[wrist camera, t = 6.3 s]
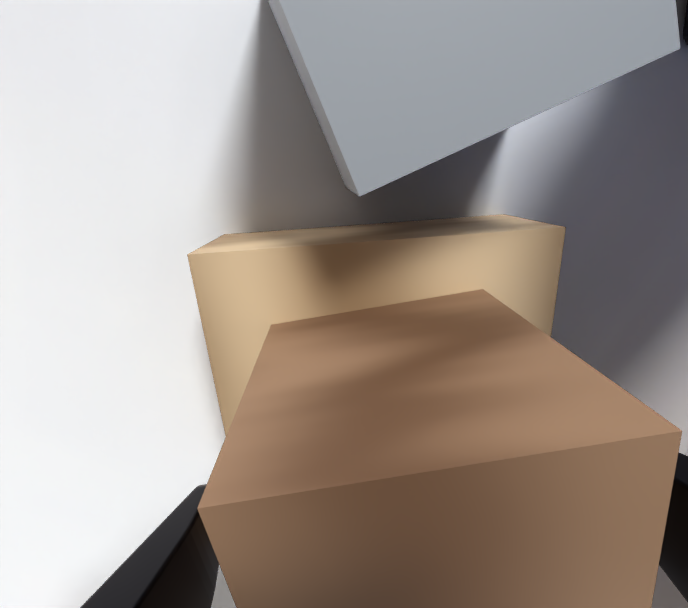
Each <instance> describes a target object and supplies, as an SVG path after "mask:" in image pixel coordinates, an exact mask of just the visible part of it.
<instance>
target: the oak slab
mask: <svg viewBox="0 0 688 608" xmlns="http://www.w3.org/2000/svg"><path fill="white" fill-rule="evenodd" d="M565 230H566V227H562V226H558V225H553V224H548V223H543V222H539V221H534V220H529V219H524V218H519V217H515V216H510V215H505V214H503V215H489V216H475V217H461V218H447V219H433V220H419V221H405V222H391V223H377V224H363V225H349V226H335V227H321V228H307V229H293V230H279V231H265V232H251V233H237V234H224V235H222V236H220V237H219V238H217V239H215V240H213V241H211V242H209V243H208V244H206V245H204V246H202V247H200V248H198V249H197V250H195V251H193V252H191V253H189V254H187V256H188V260H189V265H190V270H191V274H192V279H193V284H194V289H195V293H196V298H197V303H198V307H199V312H200V317H201V322H202V326H203V331H204V336H205V340H206V345H207V350H208V355H209V359H210V364H211V369H212V373H213V378H214V383H215V388H216V392H217V397H218V402H219V406H220V411H221V416H222V421H223V425H224V430H225V435H226V436H227V433H228V431H229V428H230V426H231V423H232V421H233V418H234V416H235V413H236V411H237V408H238V406H239V403H240V401H241V398H242V396H243V393H244V391H245V388H246V386H247V383H248V381H249V378H250V376H251V373H252V371H253V368H254V366H255V363H256V361H257V358H258V356H259V353H260V351H261V348H262V346H263V343H264V341H265V339H266V336H267V334H268V331H269V329H270V326H271V325H272V324H278V323H284V322H290V321H296V320H302V319H308V318H314V317H320V316H326V315H332V314H338V313H344V312H350V311H355V310H361V309H367V308H373V307H379V306H385V305H391V304H397V303H403V302H409V301H415V300H421V299H427V298H433V297H439V296H444V295H450V294H456V293H462V292H468V291H474V290H480V289H484V290H485V291H487V292H488V293H489V294H491V295H492V296H494V297H495V298H496V299H498V300H499V301H501V302H502V303H503V304H505V305H506V306H508V307H509V308H510V309H512V310H513V311H515V312H516V313H517V314H519V315H520V316H522V317H523V318H524V319H526V320H527V321H529V322H530V323H531V324H533V325H534V326H536V327H537V328H538V329H540V330H541V331H543V332H544V333H546V334H547V335H548V336H550V337H551V332H552V324H553V317H554V310H555V303H556V295H557V288H558V281H559V273H560V266H561V259H562V252H563V244H564V237H565Z"/></svg>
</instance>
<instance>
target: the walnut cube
mask: <svg viewBox="0 0 688 608" xmlns="http://www.w3.org/2000/svg"><path fill="white" fill-rule="evenodd" d="M681 435H682V430H680V429H679V428H678V427H676V426H675V425H673V424H672V423H670V422H669V421H668V420H666V419H665V418H663V417H662V416H661V415H659V414H658V413H656V412H655V411H654V410H652V409H651V408H649V407H648V406H647V405H645V404H644V403H642V402H641V401H640V400H638V399H637V398H635V397H634V396H633V395H631V394H630V393H628V392H627V391H626V390H624V389H623V388H621V387H620V386H619V385H617V384H616V383H614V382H613V381H612V380H610V379H609V378H607V377H606V376H604V375H603V374H602V373H600V372H599V371H597V370H596V369H595V368H593V367H592V366H590V365H589V364H588V363H586V362H585V361H583V360H582V359H581V358H579V357H578V356H576V355H575V354H574V353H572V352H571V351H569V350H568V349H567V348H565V347H564V346H562V345H561V344H560V343H558V342H557V341H555V340H554V339H553V338H551V337H550V336H548V335H547V334H546V333H544V332H543V331H541V330H540V329H538V328H537V327H536V326H534V325H533V324H531V323H530V322H529V321H527V320H526V319H524V318H523V317H522V316H520V315H519V314H517V313H516V312H515V311H513V310H512V309H510V308H509V307H508V306H506V305H505V304H503V303H502V302H501V301H499V300H498V299H496V298H495V297H494V296H492V295H491V294H489V293H488V292H487V291H485V290H484V289H480V290H474V291H468V292H462V293H456V294H450V295H444V296H439V297H433V298H427V299H421V300H415V301H409V302H403V303H397V304H391V305H385V306H379V307H373V308H367V309H361V310H355V311H350V312H344V313H338V314H332V315H326V316H320V317H314V318H308V319H302V320H296V321H290V322H284V323H278V324H272V325H271V326H270V329H269V331H268V334H267V336H266V339H265V341H264V343H263V346H262V348H261V351H260V353H259V356H258V358H257V361H256V363H255V366H254V368H253V371H252V373H251V376H250V378H249V381H248V383H247V386H246V388H245V391H244V393H243V396H242V398H241V401H240V403H239V406H238V408H237V411H236V413H235V416H234V418H233V421H232V423H231V426H230V428H229V431H228V433H227V436H226V438H225V441H224V443H223V446H222V448H221V451H220V453H219V456H218V458H217V461H216V463H215V466H214V468H213V470H212V473H211V475H210V478H209V480H208V483H207V485H206V488H205V490H204V493H203V495H202V498H201V500H200V503H199V505H198V508H197V509H198V512H199V514H200V517H201V519H202V522H203V524H204V527H205V529H206V532H207V534H208V537H209V539H210V542H211V544H212V547H213V549H214V552H215V555H216V557H217V560H218V562H219V565H220V567H221V570H222V572H223V575H224V577H225V580H226V582H227V585H228V587H229V590H230V592H231V595H232V597H233V600H234V602H235V605H236V607H237V608H651V605H652V600H653V594H654V588H655V583H656V577H657V571H658V566H659V560H660V554H661V549H662V543H663V537H664V531H665V526H666V520H667V514H668V509H669V503H670V497H671V492H672V486H673V480H674V475H675V469H676V463H677V458H678V452H679V446H680V440H681Z"/></svg>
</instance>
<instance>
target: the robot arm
mask: <svg viewBox="0 0 688 608" xmlns="http://www.w3.org/2000/svg"><path fill="white" fill-rule="evenodd" d="M683 38H684V40H685V43H686V44H687V45H688V0H687V7H686V14H685V21H684V28H683ZM206 485H207V484H205V485H200V486H197V487H196V488H195V489H194V490H193V491H192V492H191V493H190V494H189V495H188V496H187V497H186V498H185V499H184V500H183V501H182V503H181V504H180V505H179V506H178V507H177V508H176V509H175V510H174V511H173V512H172V513H171V514H170V515H169V516H168V517H167V518H166V519H165V520H164V521H163V522H162V523H161V524H160V525H159V526H158V527H157V529H156V530H155V531H154V532H153V533H152V534H151V535H150V536H149V537H148V538H147V539H146V540H145V541H144V542H143V543H142V544H141V545H140V546H139V547H138V548H137V549H136V550H135V551H134V552H133V553H132V554H131V556H130V557H129V558H128V559H127V560H126V561H125V562H124V563H123V564H122V565H121V566H120V567H119V568H118V569H117V570H116V571H115V572H114V573H113V574H112V575H111V576H110V577H109V578H108V579H107V580H106V582H105V583H104V584H103V585H102V586H101V587H100V588H99V589H98V590H97V591H96V592H95V593H94V594H93V595H92V596H91V597H90V598H89V599H88V600H87V601H86V602H85V603H84V604H83V605H82V606H81V607H80V608H211V604H212V600H213V596H214V591H215V586H216V580H217V573H218V567H219V562H218V560H217V557H216V555H215V552H214V549H213V547H212V544H211V542H210V539H209V537H208V534H207V532H206V529H205V527H204V524H203V522H202V519H201V517H200V514H199V512H198V509H197V508H198V505H199V503H200V500H201V498H202V495H203V493H204V490H205V488H206ZM659 565H660V566H661V568H662V569H663V570H664V572H665V573H666V574H667V576H668V577H669V578H670V580H671V581H672V582H673V584H674V585H675V586H676V587H677V589H678V590H679V591H680V593H681V594H682V595H683V597H684V598H685V599H686V601H687V602H688V456H686V455H683V454H681V453H679V452H678V458H677V463H676V469H675V475H674V480H673V486H672V492H671V497H670V503H669V509H668V514H667V520H666V526H665V531H664V537H663V543H662V549H661V554H660V560H659Z"/></svg>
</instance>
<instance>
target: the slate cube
mask: <svg viewBox="0 0 688 608" xmlns="http://www.w3.org/2000/svg"><path fill="white" fill-rule="evenodd" d="M268 3H269V5H270V8H271V10H272V12H273V15H274V17H275V20H276V22H277V24H278V27H279V29H280V31H281V34H282V36H283V39H284V41H285V43H286V46H287V48H288V50H289V53H290V55H291V58H292V60H293V62H294V65H295V67H296V70H297V72H298V74H299V77H300V79H301V81H302V84H303V86H304V89H305V91H306V93H307V96H308V98H309V101H310V103H311V105H312V108H313V110H314V112H315V115H316V117H317V120H318V122H319V124H320V127H321V129H322V132H323V134H324V136H325V139H326V141H327V143H328V146H329V148H330V151H331V153H332V155H333V158H334V160H335V163H336V165H337V167H338V170H339V172H340V174H341V177H342V179H343V182H344V184H345V186H346V188H348V189H349V190H351V191H352V192H354V193H355V194H357V195H358V196H362V195H364V194H366V193H369V192H371V191H373V190H375V189H377V188H379V187H382V186H384V185H386V184H388V183H390V182H392V181H395V180H397V179H399V178H401V177H403V176H405V175H408V174H410V173H412V172H414V171H416V170H418V169H421V168H423V167H425V166H427V165H429V164H431V163H434V162H436V161H438V160H440V159H442V158H444V157H447V156H449V155H451V154H453V153H455V152H457V151H460V150H462V149H464V148H466V147H468V146H470V145H473V144H475V143H477V142H479V141H481V140H483V139H486V138H488V137H490V136H492V135H494V134H496V133H499V132H501V131H503V130H505V129H507V128H509V127H512V126H514V125H516V124H518V123H520V122H522V121H525V120H527V119H529V118H531V117H533V116H535V115H538V114H540V113H542V112H544V111H546V110H548V109H551V108H553V107H555V106H557V105H559V104H561V103H564V102H566V101H568V100H570V99H572V98H574V97H577V96H579V95H581V94H583V93H585V92H587V91H590V90H592V89H594V88H596V87H598V86H600V85H603V84H605V83H607V82H609V81H611V80H613V79H616V78H618V77H620V76H622V75H624V74H626V73H629V72H631V71H633V70H635V69H637V68H639V67H642V66H644V65H646V64H648V63H650V62H652V61H655V60H657V59H659V58H661V57H663V56H665V55H668V54H670V53H672V52H674V51H676V50H678V49H680V39H679V29H678V18H677V8H676V0H268Z"/></svg>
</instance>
